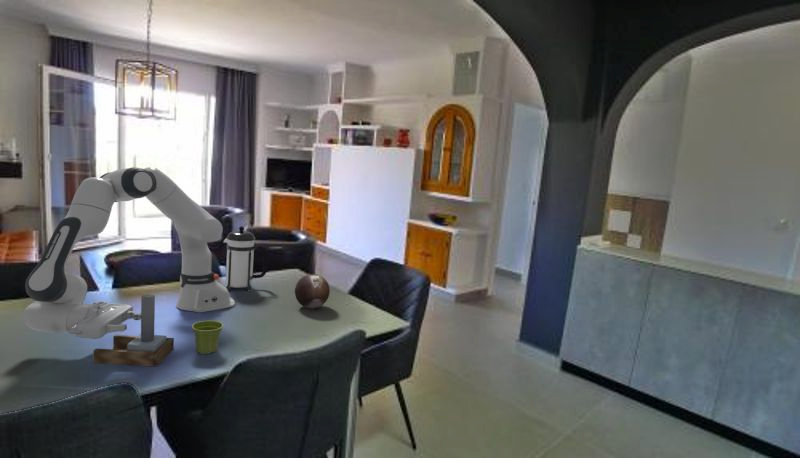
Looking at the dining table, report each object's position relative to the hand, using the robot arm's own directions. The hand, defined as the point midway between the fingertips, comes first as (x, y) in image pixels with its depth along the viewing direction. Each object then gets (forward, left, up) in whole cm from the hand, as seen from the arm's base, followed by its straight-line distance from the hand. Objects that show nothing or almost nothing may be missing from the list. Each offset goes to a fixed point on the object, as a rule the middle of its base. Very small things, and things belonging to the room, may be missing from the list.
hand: (133, 322), depth 140 cm
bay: (-1, 0, -11) cm, 11 cm away
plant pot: (-21, +4, -11) cm, 24 cm away
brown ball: (-71, -24, -11) cm, 75 cm away
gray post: (-4, +2, -10) cm, 11 cm away
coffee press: (-52, -62, -11) cm, 81 cm away
